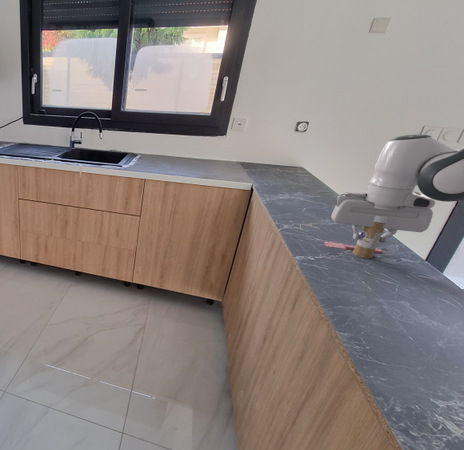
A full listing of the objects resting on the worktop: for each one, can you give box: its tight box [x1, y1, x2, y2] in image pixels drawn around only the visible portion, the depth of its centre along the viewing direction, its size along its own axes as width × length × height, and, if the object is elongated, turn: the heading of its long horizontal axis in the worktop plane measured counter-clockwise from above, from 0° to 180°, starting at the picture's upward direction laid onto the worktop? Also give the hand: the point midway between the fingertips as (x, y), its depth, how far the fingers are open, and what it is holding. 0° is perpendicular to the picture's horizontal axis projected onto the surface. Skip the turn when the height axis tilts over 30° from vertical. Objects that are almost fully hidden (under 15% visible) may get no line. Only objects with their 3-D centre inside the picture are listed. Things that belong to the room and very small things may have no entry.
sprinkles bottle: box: [352, 216, 388, 259], centre depth 90 cm, size 5×5×13 cm
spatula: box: [323, 241, 383, 255], centre depth 99 cm, size 14×4×1 cm, turn 65°
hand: (368, 240), depth 91 cm, fingers closed on sprinkles bottle, 4 cm apart
